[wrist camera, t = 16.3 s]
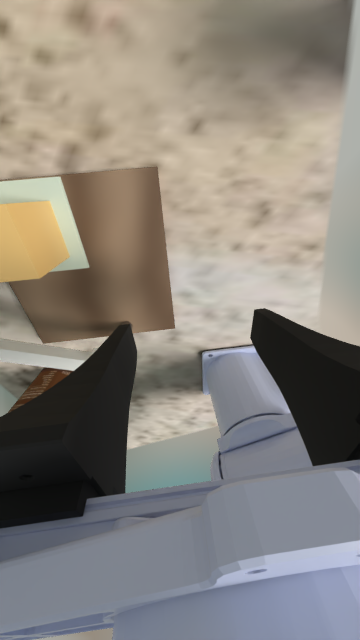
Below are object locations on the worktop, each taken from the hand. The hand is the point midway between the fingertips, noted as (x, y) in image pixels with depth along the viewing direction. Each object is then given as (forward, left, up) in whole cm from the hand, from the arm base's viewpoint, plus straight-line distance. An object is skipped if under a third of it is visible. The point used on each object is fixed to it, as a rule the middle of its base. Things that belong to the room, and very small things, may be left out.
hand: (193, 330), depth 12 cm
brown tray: (+8, -2, -9) cm, 12 cm away
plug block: (+11, -5, -8) cm, 15 cm away
